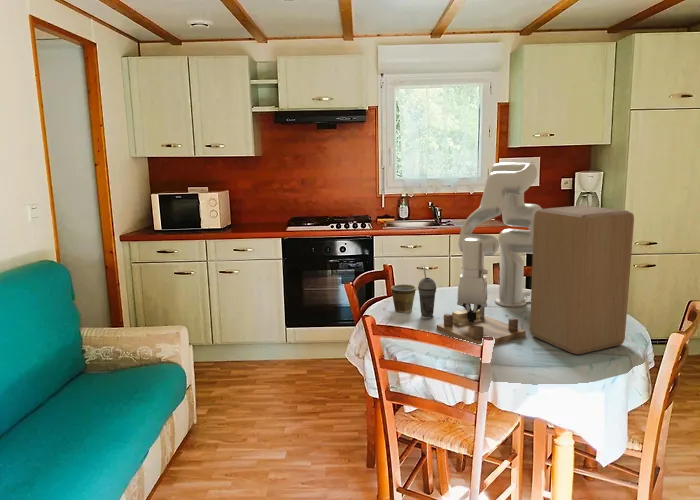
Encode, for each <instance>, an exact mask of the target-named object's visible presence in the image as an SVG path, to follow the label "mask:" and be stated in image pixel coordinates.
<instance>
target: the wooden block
mask: <svg viewBox="0 0 700 500" xmlns="http://www.w3.org/2000/svg"><path fill="white" fill-rule="evenodd" d="M634 226H635V216H634V213H632V212H630V211H628V210H624V209H616V208H609V207H598V206H589V205H583V204H582V205H573V206H572V205H570V206H562V207H561V206H559V207H548V208H542V209H541V210H538V211H536V213H535V215H534V239H533V254H532V264H531V267H532V268H531V287H530V288H531V289H530V309H529V311H530V313H529V314H530V315H529V317H530V318H529V333H530V335H531V336H533V337H535V338H537V339H538V340H539V339H540V340H541V341H544V342H546V343H548V344H550V345H553V346H555V347H557V348H560V349H562V350H564V351H566V352H568V353H572V354H573V355H582V354H586V353H590V352H591V353H592V352H596V351H600V350H602V349H607V348H612V347H617V346H620V345H622V344H623V343H624V342H625V340H626V330H627V329H626V328H627V327H626V326H627V314H628V302H629V301H628V300H629V289H630V278H631V277H630V275H631V266H632V265H631V264H632V251H633V241H634V240H633V237H634V228H635V227H634Z"/></svg>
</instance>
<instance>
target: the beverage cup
mask: <svg viewBox="0 0 700 500" xmlns="http://www.w3.org/2000/svg"><path fill="white" fill-rule="evenodd" d="M426 273H427V272H426V266H423V274H424V275H423V276H424V278H422V279H420V281H419V283H418V287H417V290H418V294H419V302H420V303H419V304H420V313H421V314H420V315H421V317H422V318H425V319H430V318H433V316H434V312H435V311H434V308H435V300H436V292H437V288H438V287H437V284H436V282H435V281H434V279H433V278H431V277H427V274H426Z"/></svg>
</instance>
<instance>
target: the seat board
mask: <svg viewBox="0 0 700 500" xmlns="http://www.w3.org/2000/svg"><path fill="white" fill-rule="evenodd" d="M485 308H486V307H485ZM485 308H480V309H479V310H480V319H479V320H475V321H474V323H472V322H470V323H469V321H468V322H462V323H456V322H454V321H453V315H452V313H445V314H443V322H442V323H438V324H436V329H435V330H436V331H437V332H440V333H442V334H444V335H446V336H448V337H451V338H453V337H455V338H458V339H462V340H466V341H469V342H473V343H476V344H481V343H482V338H483V336H489V337H494V339H495V344H494V345H498V344H502V343H505V342H509V341H513V340H517V339H521V338H524V337H526V336H527V335H526V333H527V332H526V330H524V329H521V328H519V318H516V317H510V318H508V323H505V322H503V321H500V320H497V319H495V318H493V317H489V316H487V315H485V311H486V310H485ZM455 338H454V339H455Z"/></svg>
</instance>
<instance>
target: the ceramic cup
mask: <svg viewBox="0 0 700 500" xmlns="http://www.w3.org/2000/svg"><path fill="white" fill-rule="evenodd" d="M390 289H391V296H392V300H393V304H394V305H393V307H394V311H395V312H396V313H397V314H404V313H406V314H410V313H411V312H412V310H413V307H414V306H413V305H414V300H415V295H416V289H417V287H416V286H415V285H412V284H396V285H392V286H391V288H390Z"/></svg>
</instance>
